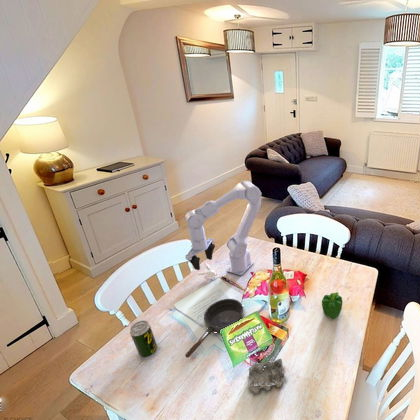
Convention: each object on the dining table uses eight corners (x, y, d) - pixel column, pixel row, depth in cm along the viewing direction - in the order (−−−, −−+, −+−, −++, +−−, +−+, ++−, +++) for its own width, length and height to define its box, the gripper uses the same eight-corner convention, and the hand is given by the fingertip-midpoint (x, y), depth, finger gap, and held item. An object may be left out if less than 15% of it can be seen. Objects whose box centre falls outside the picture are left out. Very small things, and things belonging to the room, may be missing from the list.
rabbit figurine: (209, 283, 122) (195, 273, 122) (211, 284, 125) (198, 274, 126) (218, 272, 124) (205, 262, 124) (220, 273, 127) (207, 263, 128)
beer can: (137, 360, 88) (126, 335, 83) (142, 346, 93) (132, 321, 88) (155, 357, 90) (145, 332, 84) (160, 343, 94) (151, 318, 89)
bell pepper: (326, 324, 104) (327, 305, 99) (318, 309, 110) (319, 290, 106) (345, 318, 106) (347, 299, 102) (337, 303, 113) (338, 285, 109)
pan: (221, 301, 112) (220, 294, 111) (251, 310, 108) (250, 304, 107) (196, 327, 100) (195, 321, 99) (228, 339, 96) (227, 332, 95)
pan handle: (210, 328, 98) (209, 325, 97) (214, 330, 98) (213, 326, 97) (184, 357, 88) (183, 354, 87) (188, 359, 87) (187, 356, 87)
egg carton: (249, 395, 80) (247, 387, 78) (249, 371, 86) (248, 363, 85) (285, 387, 82) (284, 379, 80) (283, 364, 89) (282, 356, 87)
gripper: (202, 228, 120) (207, 253, 126) (177, 245, 108) (183, 271, 114) (215, 231, 118) (220, 256, 124) (191, 248, 106) (197, 275, 112)
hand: (203, 264), depth 119 cm, fingers open, 7 cm apart
